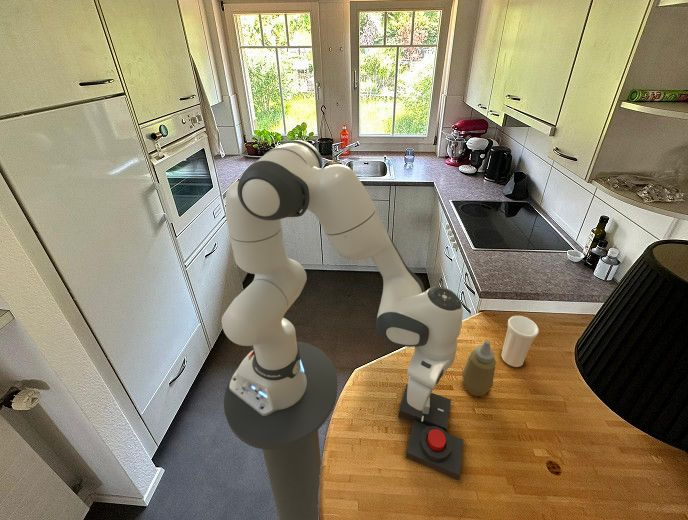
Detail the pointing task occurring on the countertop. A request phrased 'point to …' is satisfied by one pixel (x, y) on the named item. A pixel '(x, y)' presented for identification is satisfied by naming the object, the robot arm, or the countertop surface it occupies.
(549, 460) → the countertop surface
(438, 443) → the power button
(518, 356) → the cup
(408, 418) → the control panel
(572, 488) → the countertop surface
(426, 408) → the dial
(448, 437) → the power base
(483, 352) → the squeeze bottle
